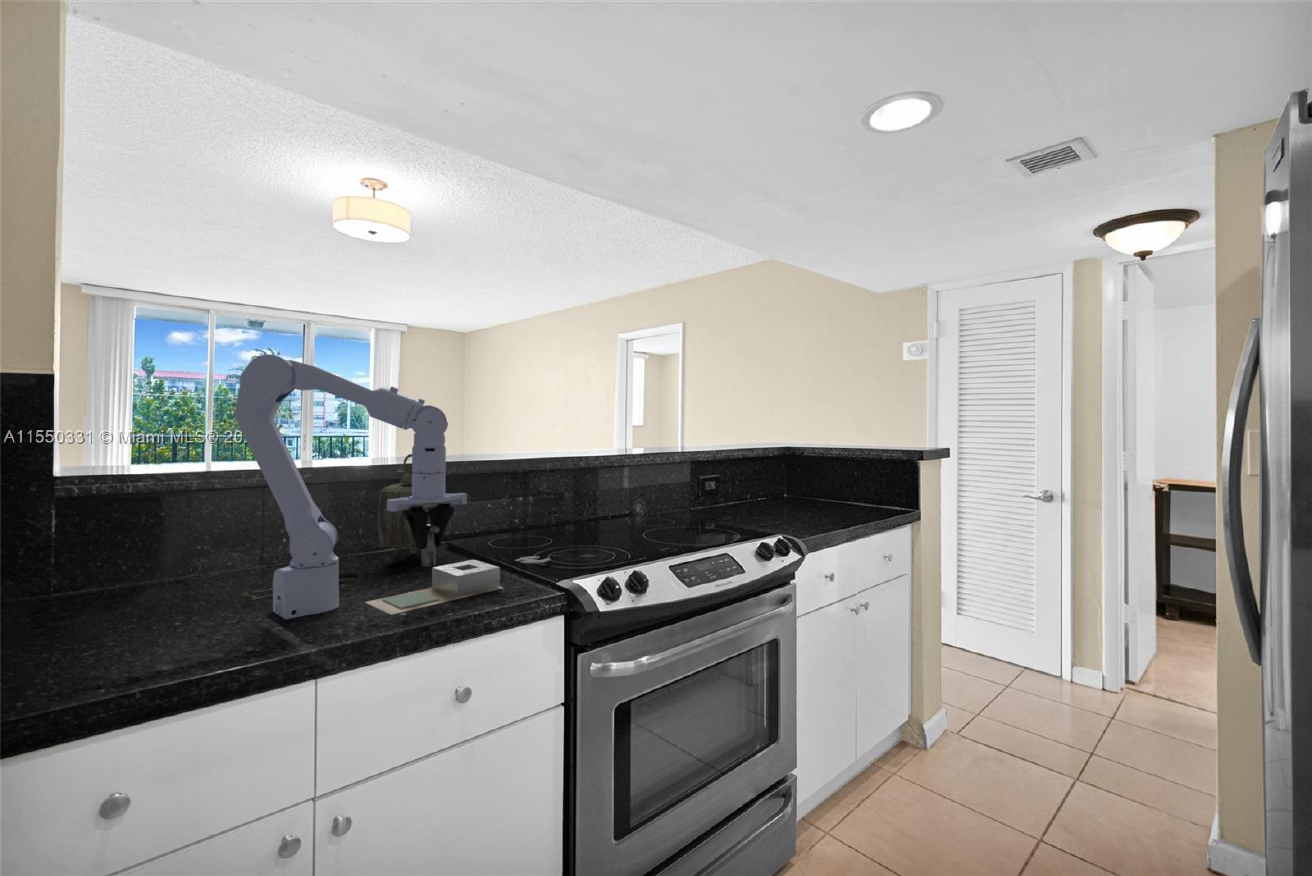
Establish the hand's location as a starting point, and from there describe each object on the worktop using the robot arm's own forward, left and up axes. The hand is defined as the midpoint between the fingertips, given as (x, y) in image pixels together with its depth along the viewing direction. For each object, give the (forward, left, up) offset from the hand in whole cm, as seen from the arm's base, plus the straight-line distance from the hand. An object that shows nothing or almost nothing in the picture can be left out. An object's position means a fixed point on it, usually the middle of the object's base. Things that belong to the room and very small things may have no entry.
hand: (428, 547), depth 112 cm
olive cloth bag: (+15, +34, -11) cm, 38 cm away
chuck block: (+8, 0, -9) cm, 12 cm away
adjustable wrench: (+23, +13, -11) cm, 29 cm away
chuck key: (0, 0, -3) cm, 3 cm away
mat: (-3, 0, -9) cm, 10 cm away
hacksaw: (-12, +26, -11) cm, 31 cm away
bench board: (+2, 0, -10) cm, 10 cm away
